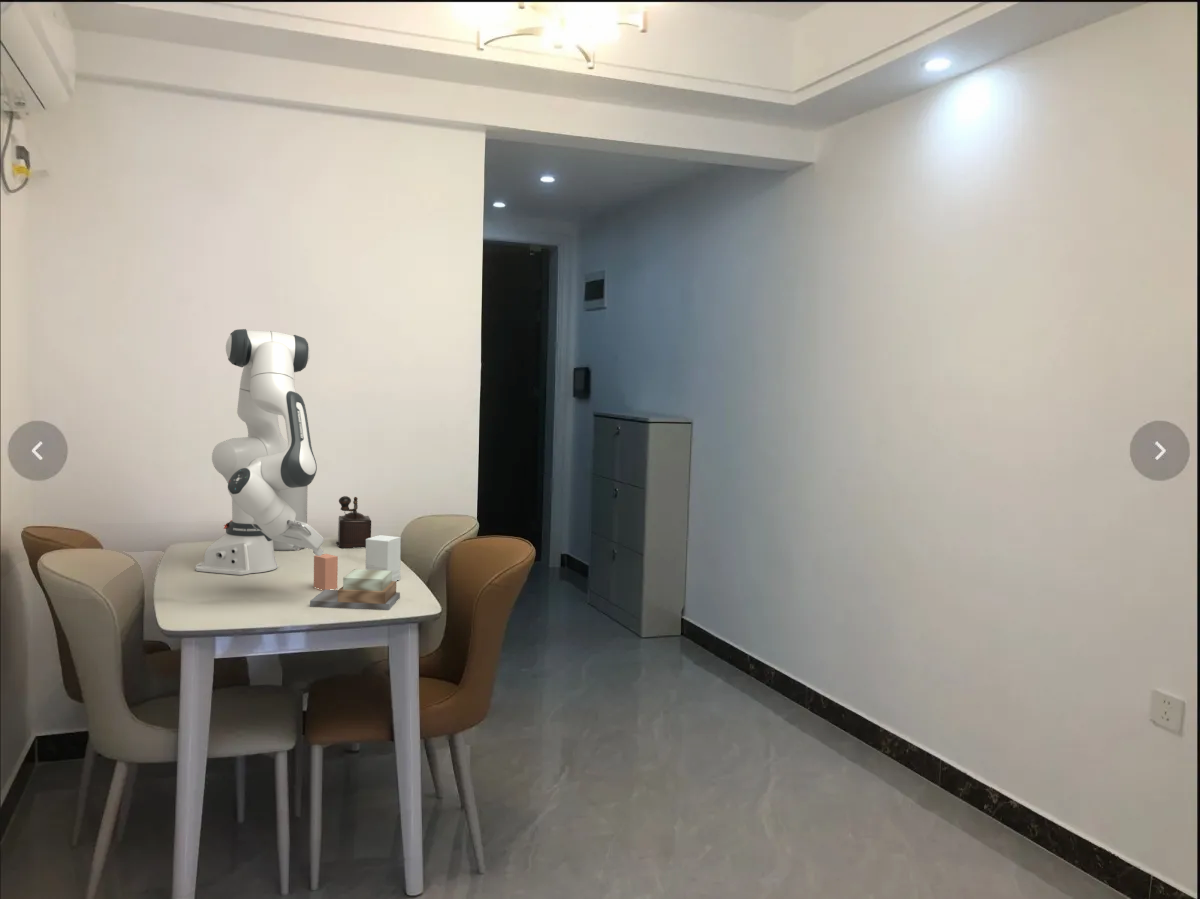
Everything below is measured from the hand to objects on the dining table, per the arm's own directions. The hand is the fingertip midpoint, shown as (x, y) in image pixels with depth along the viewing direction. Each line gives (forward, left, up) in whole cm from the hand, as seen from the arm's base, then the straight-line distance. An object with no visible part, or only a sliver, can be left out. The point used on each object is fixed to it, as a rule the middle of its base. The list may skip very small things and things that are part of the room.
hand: (309, 551), depth 243 cm
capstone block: (+3, +4, -11) cm, 12 cm away
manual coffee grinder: (-5, +62, -11) cm, 63 cm away
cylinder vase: (-26, +56, -11) cm, 63 cm away
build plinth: (+15, -9, -11) cm, 21 cm away
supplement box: (+16, +15, -11) cm, 25 cm away
